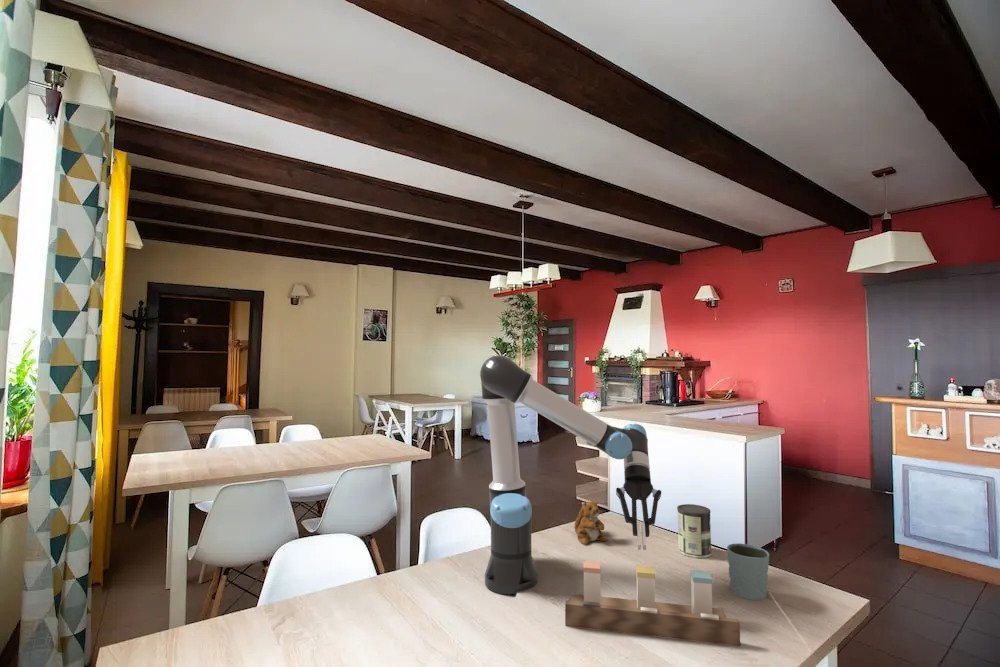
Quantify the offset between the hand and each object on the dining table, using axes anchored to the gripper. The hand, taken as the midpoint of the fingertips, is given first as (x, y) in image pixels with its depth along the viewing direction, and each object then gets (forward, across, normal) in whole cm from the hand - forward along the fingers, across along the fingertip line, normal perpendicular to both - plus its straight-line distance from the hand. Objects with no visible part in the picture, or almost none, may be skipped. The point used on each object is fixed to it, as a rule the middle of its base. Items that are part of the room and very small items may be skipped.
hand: (642, 547), depth 130 cm
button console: (+18, 0, -1) cm, 18 cm away
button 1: (+16, +13, -1) cm, 20 cm away
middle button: (+16, 0, -1) cm, 16 cm away
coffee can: (-15, -19, -34) cm, 42 cm away
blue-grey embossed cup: (+5, -28, -14) cm, 32 cm away
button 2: (+16, -13, -1) cm, 20 cm away
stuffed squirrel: (-19, +16, -38) cm, 46 cm away
